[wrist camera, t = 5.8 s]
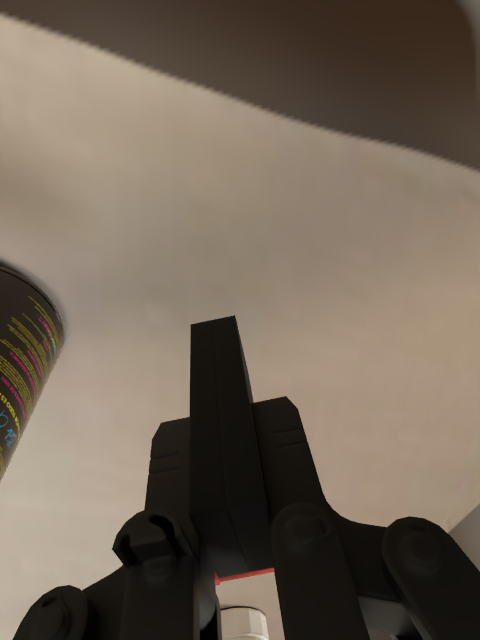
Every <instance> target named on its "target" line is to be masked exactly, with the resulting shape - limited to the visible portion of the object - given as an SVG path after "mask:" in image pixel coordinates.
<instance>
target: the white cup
mask: <svg viewBox="0 0 480 640" xmlns="http://www.w3.org/2000/svg"><path fill="white" fill-rule="evenodd" d="M221 625H222V640H269V636H268V630H267V623H266V617H265V615H264V614H262V613H261V612H260V611H259V610H255V609H251V608H231V609H226V610H221Z"/></svg>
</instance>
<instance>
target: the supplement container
mask: <svg viewBox="0 0 480 640" xmlns="http://www.w3.org/2000/svg"><path fill="white" fill-rule="evenodd" d="M63 343H64V330H63V324H62V320H61V317H60V315H59V312H58V310H57V309H56V307H55V305H54V304H53V302H52V301H51V300H50V298H49V297H48V296H47V295H46V294H45V293H44V292H43V291H42V290H41V289H40V288H39V287H38V286H37V285H36V284H34V283H33V282H32V281H30V280H29V279H27V278H25V277H24V276H22V275H20V274H18V273H16V272H14V271H12V270H10V269H7V268H4V267H1V266H0V483H1V481H2V478H3V476H4V474H5V472H6V470H7V468H8V465H9V463H10V461H11V459H12V457H13V455H14V452H15V450H16V448H17V446H18V444H19V442H20V439H21V437H22V435H23V433H24V431H25V429H26V426H27V424H28V422H29V420H30V418H31V416H32V413H33V411H34V409H35V407H36V405H37V403H38V400H39V398H40V396H41V394H42V392H43V390H44V388H45V385H46V383H47V381H48V379H49V377H50V375H51V372H52V370H53V368H54V366H55V364H56V362H57V359H58V357H59V355H60V353H61V351H62V348H63Z"/></svg>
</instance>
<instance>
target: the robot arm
mask: <svg viewBox="0 0 480 640" xmlns="http://www.w3.org/2000/svg"><path fill="white" fill-rule="evenodd" d="M150 457H151V460H150V465H149V475H148V483H147V492H146V501H145V510H144V511H141V512H139V513H137V514H136V515H134V516H133V517H132V518H130V519H129V520H128V521H127V522H126V523H125V524H124V525H123V527H122V528H121V530H120V531H119V532H118V534H117V536H116V539H115V542H114V545H113V548H112V550H113V551H114V552H115V554H116V555H117V556H118V558H119V559H120V560H121V562H122V563H123V565H122V566H121V567H120V568H119V569H118V570H116V571H115V572H113V573H112V574H110V575H108V576H107V577H105V578H103V579H101V580H100V581H98V582H96V583H94V584H93V585H91V586H89V587H87V588H86V589H84V590H82V591H81V590H80V589H78V588H76V587H73V586H71V585H67V586H60V587H56V588H54V589H52V590H51V591H49V592H47V593H45V594H44V595H42V596H41V597H40V598H39V599H38V600H37V601H36V602H35V603H34V604H33V605H32V606H31V607H30V609H29V611H28V612H27V614H26V615H25V617H24V618H23V620H22V622H21V623H20V625H19V628H18V630H17V632H16V634H15V636H14V638H13V640H222V625H221V609H220V604H219V600H218V597H217V595H216V592H215V572H216V574H217V576H218V578H223V577H228V576H233V575H238V574H243V573H249V572H254V571H259V570H264V569H269V568H274V572H275V578H276V585H277V591H278V598H279V604H280V610H281V617H282V623H283V630H284V636H285V640H370V637H369V634H368V631H367V629H371V630H375V631H380V632H384V633H389V634H390V636H391V638H392V640H480V572H479V570H478V569H477V568H476V567H475V565H474V564H473V563H472V562H471V560H470V559H469V558H468V557H467V556H466V554H465V553H464V552H463V551H462V550H461V548H460V547H459V546H458V545H457V543H456V542H455V541H454V540H453V538H452V537H451V536H450V535H449V534H447V533H446V532H445V531H444V530H443V529H442V528H441V527H440V526H439V525H437V524H435V523H432V522H430V521H428V520H426V519H424V518H417V517H410V516H409V517H405V518H401V519H397V520H396V521H394V522H393V523H392V524H391V525H389V526H388V527H381V526H374V525H367V524H361V523H357V522H353V521H350V520H348V519H346V518H344V517H342V516H340V515H339V514H338V513H337V512H336V511H334V510H333V509H332V508H331V506H330V505H329V504H328V502H327V501H326V499H325V496H324V494H323V492H322V488H321V485H320V482H319V478H318V475H317V472H316V468H315V465H314V462H313V458H312V455H311V452H310V448H309V445H308V442H307V438H306V435H305V432H304V428H303V425H302V422H301V418H300V415H299V411H298V409H297V407H296V406H295V405H294V404H293V403H292V402H291V401H290V400H289V399H288V398H287V397H286V396H285V397H280V398H275V399H270V400H265V401H261V402H256V403H253V397H252V391H251V386H250V380H249V375H248V370H247V366H246V361H245V357H244V353H243V348H242V344H241V339H240V335H239V331H238V326H237V322H236V318H235V315H234V316H230V317H225V318H220V319H215V320H210V321H206V322H201V323H196V324H191V353H190V417H187V418H182V419H178V420H173V421H168V422H163V423H161V424H160V426H159V428H158V430H157V432H156V433H155V435H154V437H153V439H152V446H151V456H150Z"/></svg>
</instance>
